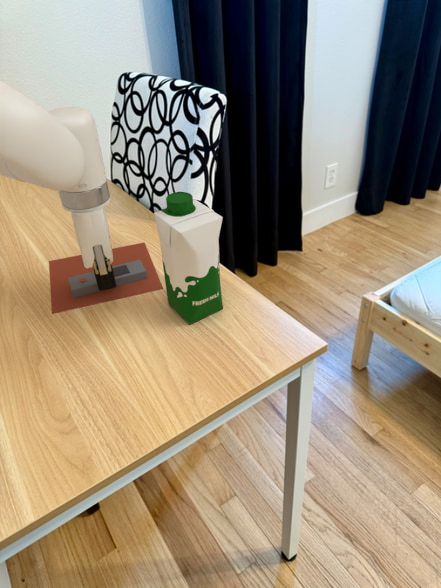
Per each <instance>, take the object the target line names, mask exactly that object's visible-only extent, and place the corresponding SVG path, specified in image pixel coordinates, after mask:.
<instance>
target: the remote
mask: <svg viewBox="0 0 441 588" xmlns="http://www.w3.org/2000/svg"><path fill="white" fill-rule="evenodd" d="M112 269H113V273H114V278H115V282H116V287H117V286H121V285H125V284H128V283H132V282H136V281H139V280H143V279H147V273H146V270H145V268H144V266H143V264H142V262H141V261H140V260H136V261H133V262H129V263H125V264H121V265H117V266H113V267H112ZM68 281H69V284H70V288H71V291H72V294H73V298H76V297H80V296H84V295H87V294H91V293H95V292H99V289H98V285H97V282H96V278H95V274H94V271H93V272H89V273H85V274H81V275H78V276H74V277H70V278H68Z"/></svg>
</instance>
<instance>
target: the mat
mask: <svg viewBox="0 0 441 588" xmlns="http://www.w3.org/2000/svg"><path fill="white" fill-rule="evenodd" d="M149 252H150V251H149V250H148V247H147V245H146V243H145V242H138V243H134V244H128V245H124V246H120V247H119V246H118V247H114V248H113V247H112V253H113V262H112V263H110V265H112V267H113V266H117V265H121V264H125V263H129V262H133V261H136V260H140V261H141V262H142V264H143V266H144V268H145V270H146V273H147V279H143V280H139V281H136V282H132V283H128V284H125V285H121V286H117V287H115V288H112V289H107V290H102V291H99V292H95V293H91V294H87V295H84V296H80V297H76V298H73V294H72V291H71V288H70V284H69V281H68V278H70V277H74V276H78V275H81V274H85V273H89V272H93V271H94V269H93V268H94V265H93V266H92V267H91V268H88V269H87V268H85V267H84V263H83V259H82V255H81V254H77V255H73V256H68V257H63V258H57V259H52V260H48V267H49V269H48V270H49V286H50V304H51V314H52V315H53V314H57V313H58V314H59V313H62V312H67V311H72V310H76V309H80V308H85V307H90V306H94V305H99V304H102V303H106V302H111V301H116V300H121V299H125V298H130V297H134V296H138V295H143V294H147V293H152V292H156V291H161V290H164V287H163V285H162V284H163V283H162V282H161V280H160V276H159V274H158V272H157V270H156V267H155V265H154V261H153V260H152V257H151V255H150V253H149ZM106 263H107V262H106Z"/></svg>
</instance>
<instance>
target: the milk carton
mask: <svg viewBox="0 0 441 588" xmlns="http://www.w3.org/2000/svg"><path fill="white" fill-rule="evenodd" d="M165 201H166V202H165V203H166V207H165V208H163V209H160V210H158V211H155V212H154V213H153V216H154V220H155V224H156V229H157V234H158V238H159V245H160V253H161V260H162V268H163V269H162V270H163V275H164V282H165V292H166V297H167V304H168V305H169V306H170V307H171V308H172V309H173V310H174V311H175V312H176V313H177V314H178V315H179V316H180V317H181V319H183V320H184V322H186V323H187V324H188V325H189V326H191V325H193V324H195V323H196V322H199V321H201V320H203V319H205V318H207V317H209V316H211V315H213V314H215V313H218V312H220V311H222V310H223V309H224V305H223V296H222V286H221V272H220V268H221V267H220V244H219V243H220V242H219V239H220V233H221V228H222V223H223V218H224V217H223V216H222V215H220V214H218V213H217V212H215V211H214V209H212V208H211V207H209V206H206V205H205V204H203V203H201V202H200V201H198V200H197V199H194V197H193V195H192V194H191V193H189V192H188V191H187V192H186V191H176V192H171V193H170V194H168V195H166V197H165Z"/></svg>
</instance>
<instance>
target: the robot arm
mask: <svg viewBox="0 0 441 588" xmlns="http://www.w3.org/2000/svg"><path fill="white" fill-rule="evenodd" d="M0 175H1V176H3V177H6V178H9V179H11V180H15V181H18V182H22V183H27V184H30V185H33V186H36V187H40V188H44V189H46V190H50V191H55V192H58V196H59V198H60V202H61V205H62V208H63V210H64V211H66V212H70V215H71V220H72V225H73V228H74V233H75V236H76V240H77V243H78V247H79V251H80V255H82V259H83V263H84V267H85V268H87V269H88V268H91V267H92V266H93V265H94V268H93V269H94V274H95V278H96V282H97V285H98V289H99V291H102V290H107V289H112V288H115V287H116V282H115V278H114V273H113V269H112V265H110V263H112V262H113V253H112V249H113V246H112V238H111V232H110V227H109V222H108V217H107V212H106V206H108V205H109V204H110V202H111V200H112V199H111V193H110V189H109V184H108V179H107V174H106V169H105V163H104V159H103V155H102V150H101V144H100V139H99V135H98V130H97V125H96V121H95V117H94V115H93V114H92V113H91V112H90V111H89V110H87V109H86V108H84V107H78V106H66V107H59V108H54V109H50V110H49V111H47V110H46V109H44V107H42V106H41V105H40V104H38V103H37V102H35V101H34V100H32V99H31V98H29V96H26V95H25V94H23V93H22V92H20V91H18V90H17V89H15V88H13V87H12V86H10V85H9V84H7V83H5V82H3V81H2V80H0ZM106 262H107V263H106Z"/></svg>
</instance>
